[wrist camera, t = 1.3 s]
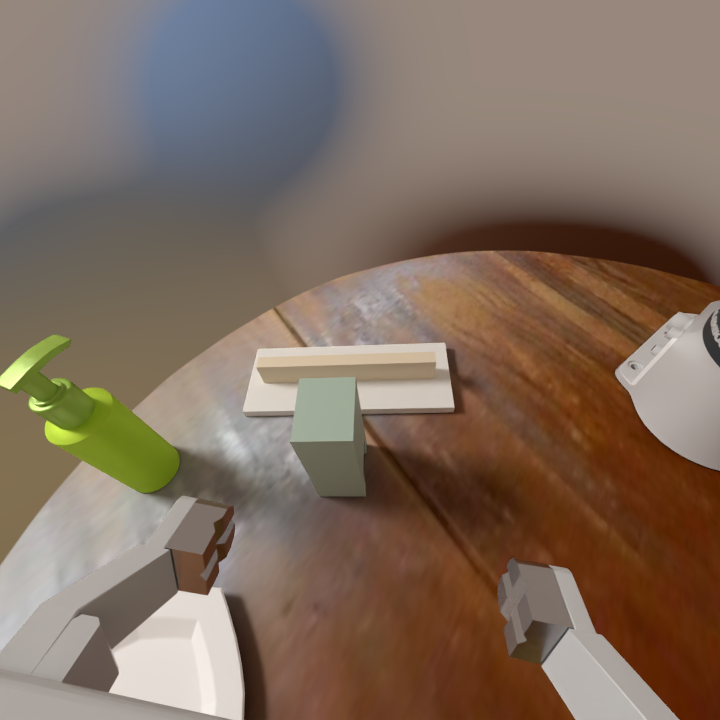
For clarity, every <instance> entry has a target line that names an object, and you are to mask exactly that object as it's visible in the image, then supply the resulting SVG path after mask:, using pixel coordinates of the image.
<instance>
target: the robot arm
mask: <svg viewBox="0 0 720 720" xmlns="http://www.w3.org/2000/svg"><path fill="white" fill-rule="evenodd" d="M632 368H634V369H635V370H634V369H632ZM615 375H616V377H617V379H618V380H619V381H620V383H621V384H622V385H623V386H624V387H625V388H626V389H627V391H628V392H629V393H630V395H631V397H632V400H633V403H634V406H635V408H636V411H637V413H638V415H639V416H640V418H641V420H642V421H643V422H644V424H645V425H646V426H647V428H648V429H649V430H650V431H651V432H652V433H653V434H654V435H655V436H656V437H657V438H658V439H659V440H660V441H661V442H663V443H664V444H665V445H666V446H668V447H669V448H670V449H672V450H673V451H675V452H676V453H678V454H680V455H681V456H683V457H685V458H687V459H689V460H691V461H693V462H695V463H698V464H700V465H703V466H705V467H708V468H711V469H715V470H719V471H720V301H715V302H712V303H710V304H709V305H708V306H707V307H706V308H705V309H704V310H703V312H702V313H701V314H700V315H696V314H688V313H682V312H678V313H677V314H676V315H674V316H673V317H672V318H671V319H670V320H669V321H667V322H666V323H665V324H664V325H663V326H662V327H661V328H660V329H659V330H658V331H657V332H656V333H655V334H654V335H652V336H651V337H650V338H649V339H648V340H647V341H646V342H645V343H644V344H643V345H642V346H641V347H640V348H639V349H637V350H636V351H635V352H634V353H633V354H632V355H631V356H630V357H629V358H628V359H627V360H626V361H625V362H623V363H622V364H621V365H620V366H619V367H618V368H617V369H616V371H615ZM233 515H234V509H233V506H231V505H227V504H222V503H217V502H212V501H208V500H203V499H199V498H194V497H188V496H181V497H180V498H179V499H178V500H177V501H176V502H175V504H174V505H173V506H172V508H171V509H170V511H169V512H168V513H167V515H166V516H165V518H164V519H163V521H162V522H161V523H160V525H159V526H158V528H157V529H156V530H155V532H154V533H153V535H152V536H151V537H150V539H149V540H148V542H147V543H146V545H145V544H139V545H138V546H136V547H134V548H133V549H131V550H129V551H128V552H126V553H124V554H123V555H121V556H119V557H118V558H116V559H114V560H113V561H111V562H109V563H108V564H106V565H105V566H103V567H101V568H100V569H98V570H96V571H95V572H93V573H91V574H90V575H88V576H86V577H85V578H83V579H81V580H80V581H78V582H76V583H75V584H73V585H71V586H70V587H68V588H67V589H65V590H63V591H62V592H60V593H58V594H57V595H55V596H53V597H52V598H50V599H48V600H47V601H45V602H43V603H42V604H41V605H40V606H39V607H38V609H37V610H36V611H35V612H34V613H33V614H32V616H31V617H30V618H29V619H28V620H27V621H26V623H25V624H24V625H23V626H22V627H21V628H20V630H19V631H18V632H17V633H16V634H15V636H14V637H13V638H12V639H11V640H10V641H9V643H8V644H7V645H6V646H5V647H4V648H3V650H2V651H1V652H0V720H232V719H227V718H222V717H218V716H213V715H209V714H204V713H200V712H195V711H191V710H186V709H181V708H177V707H172V706H168V705H163V704H159V703H154V702H150V701H145V700H140V699H136V698H131V697H127V696H122V695H118V694H113V693H109V691H110V689H111V687H112V685H113V684H114V682H115V680H116V678H117V677H118V675H119V668H118V665H117V662H116V660H115V658H114V655H113V653H112V649H113V648H114V647H115V646H116V645H118V644H119V643H120V642H121V641H122V640H123V639H125V638H126V637H127V636H128V635H129V634H130V633H132V632H133V631H134V630H135V629H136V628H137V627H139V626H140V625H141V624H142V623H143V622H144V621H145V620H147V619H148V618H149V617H150V616H151V615H152V614H154V613H155V612H156V611H157V610H158V609H159V608H161V607H162V606H163V605H164V604H165V603H166V602H168V601H169V600H170V599H171V598H172V597H173V596H174V595H176V594H177V593H178V591H184V592H190V593H196V594H202V595H207V596H208V594H209V592H210V590H211V588H212V586H213V584H214V582H215V580H216V578H217V576H218V573H219V565H218V563H219V562H220V561H222V560H223V559H224V558H226V557H227V554H228V552H229V550H230V548H231V545H232V541H233V538H234V532H235V524H234V522H233V521H232V520H231V519H232V517H233ZM507 568H508V573H506V574H504V575H502V577H501V579H500V581H499V586H498V602H499V608H500V612H501V613H502V614H503V616H504V617H505V618H506V620H507V623H506V625H505V627H504V633H505V637H506V642H507V647H508V652H509V657H512V658H516V659H521V660H525V661H529V662H534V663H538V664H542V668H543V669H544V671H545V672H546V674H547V676H548V677H549V679H550V680H551V682H552V683H553V685H554V687H555V688H556V690H557V691H558V693H559V694H560V696H561V697H562V699H563V701H564V702H565V704H566V705H567V707H568V708H569V710H570V712H571V713H572V715H573V716H574V718H575V719H576V720H679V719H678V718H677V717H676V716H675V715H674V714H673V712H672V711H671V710H670V709H669V708H668V707H667V706H666V705H665V704H664V703H663V701H662V700H661V699H660V698H659V697H658V696H657V695H656V694H655V693H654V692H653V690H652V689H651V688H650V687H649V686H648V685H647V684H646V683H645V682H644V681H643V679H642V678H641V677H640V676H639V675H638V674H637V673H636V672H635V671H634V670H633V669H632V667H631V666H630V665H629V664H628V663H627V662H626V661H625V660H624V659H623V658H622V656H621V655H620V654H619V653H618V652H617V651H616V650H615V649H614V648H613V647H612V645H611V644H610V643H609V642H608V641H607V640H606V639H605V638H604V637H603V636H602V635H600V634H596V632H595V629H594V627H593V624H592V622H591V619H590V617H589V615H588V612H587V610H586V607H585V605H584V602H583V600H582V597H581V595H580V592H579V590H578V587H577V585H576V582H575V580H574V578H573V575H572V573H571V572H570V571H569V569H567V568H562V567H556V566H550V565H547V564H543V563H537V562H531V561H525V560H520V559H514V558H513V559H511V560H510V561H509V563H508V565H507Z"/></svg>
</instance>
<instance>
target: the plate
mask: <svg viewBox="0 0 720 720" xmlns="http://www.w3.org/2000/svg"><path fill="white" fill-rule="evenodd" d="M112 653H113V655H114V658H115V660H116V662H117V665H118V668H119V675H118V677H117V678H116V680H115V682H114V684H113V685H112V687H111V689H110V691H109V693H113V694H118V695H122V696H127V697H131V698H136V699H140V700H145V701H150V702H154V703H159V704H163V705H168V706H172V707H177V708H181V709H186V710H191V711H195V712H200V713H204V714H209V715H213V716H218V717H222V718H227V719H232V720H244V704H245V688H244V679H243V670H242V662H241V657H240V652H239V647H238V642H237V637H236V633H235V630H234V626H233V622H232V619H231V615H230V611H229V608H228V605H227V602H226V599H225V596H224V593H223V590H222V588H216V587H212V588H211V590H210V592H209V594H208V596H207V595H202V594H196V593H190V592H184V591H178V593H177V594H176V595H174V596H173V597H172V598H171V599H170V600H169V601H168V602H166V603H165V604H164V605H163V606H162V607H161V608H159V609H158V610H157V611H156V612H155V613H154V614H152V615H151V616H150V617H149V618H148V619H147V620H145V621H144V622H143V623H142V624H141V625H140V626H139V627H137V628H136V629H135V630H134V631H133V632H132V633H130V634H129V635H128V636H127V637H126V638H125V639H123V640H122V641H121V642H120V643H119V644H118V645H116V646H115V647H114V648H113V649H112Z"/></svg>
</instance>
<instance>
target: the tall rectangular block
mask: <svg viewBox="0 0 720 720" xmlns="http://www.w3.org/2000/svg"><path fill="white" fill-rule="evenodd" d="M290 443H291V445H292V447H293V448H294V450H295V452H296V454H297V456H298V457H299V459H300V461H301V463H302V465H303V467H304V468H305V470H306V472H307V474H308V476H309V477H310V479H311V481H312V483H313V485H314V486H315V488H316V490H317V492H318V494H319V495H320V496H366V482H365V478H364V473H363V462H364V454H367V443H366V437H365V431H364V425H363V419H362V413H361V407H360V401H359V395H358V388H357V382H356V377H337V378H300V379H299V384H298V390H297V397H296V404H295V411H294V417H293V424H292V431H291V438H290Z"/></svg>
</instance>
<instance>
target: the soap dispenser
mask: <svg viewBox="0 0 720 720" xmlns="http://www.w3.org/2000/svg"><path fill="white" fill-rule="evenodd" d="M70 344H71V340H70V339H68V338H65V337H62V336H59V335H56V334H55V335H52V336H50V337H48V338H47V339H45V340H43V341H41V342H40V343H38V344H36V345H35V346H33V347H32V348H31V349H29V350H28V351H27V352H26V353H24V354H23V355H22V356H21V357H20V358H19V359H17V360H16V361H15V362H14V363H13V364H12V365H11V366H10V367H9V368H8V369H7V370H6V371H5V372H4V373H3V374H2V375H1V376H0V387H2V388H4V389H6V390H9V391H11V392H13V393H16V394H17V393H18V392H19V391H20V390H23V391H24V392H26V393H27V394H29V395H30V396H31V397H30V399H29V408H30V409H31V410H32V411H33V412H35V413H36V414H38V415H39V416H41V417H42V418H44V419H46V420H47V422H46V424H45V435H46V438H47V439H48V440H49V441H50V442H51V443H53V444H55V445H56V446H58V447H60V448H62V449H63V450H65V451H67V452H69V453H70V454H72V455H74V456H76V457H77V458H79V459H81V460H83V461H85V462H86V463H88V464H90V465H92V466H93V467H95V468H97V469H99V470H101V471H102V472H104V473H106V474H108V475H109V476H111V477H113V478H115V479H116V480H118V481H120V482H122V483H124V484H125V485H127V486H129V487H131V488H132V489H134V490H136V491H138V492H141V493H150V492H154V491H157V490H159V489H161V488H163V487H164V486H165V485H167V484H168V483H169V482H170V481H171V480H172V479H173V477H174V476H175V474H176V473H177V470H178V468H179V464H180V457H179V453H178V451H177V450H176V449H175V448H174V447H173V446H172V445H170V444H169V443H168V442H167V441H166V440H164V439H163V438H162V437H161V436H160V435H159V434H157V433H156V432H155V431H154V430H153V429H152V428H150V427H149V426H148V425H147V424H146V423H144V422H143V421H142V420H141V419H140V418H139V417H137V416H136V415H135V414H134V413H133V412H132V411H130V410H129V409H128V408H127V407H126V406H124V405H123V404H122V403H121V402H120V401H119V400H117V399H116V398H115V397H114V396H113V395H112V394H110V393H109V392H108V391H106V390H105V389H102V388H88V389H84V390H81V389H80V388H78V387H77V386H76V385H75V384H73V383H72V382H71V381H69V380H67V379H65V378H56V379H52V380H49V379H48V378H47V377H45V376H44V375H43V374H41V373H40V372H39V371H40V370H41V369H42V368H43V366H45V365H46V363H48V362H49V361H50V360H51V359H52V358H53V357H55V356H56V355H57V354H58V353H60V352H61V351H63V350H64V349H66V348H68V347H69V346H70Z"/></svg>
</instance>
